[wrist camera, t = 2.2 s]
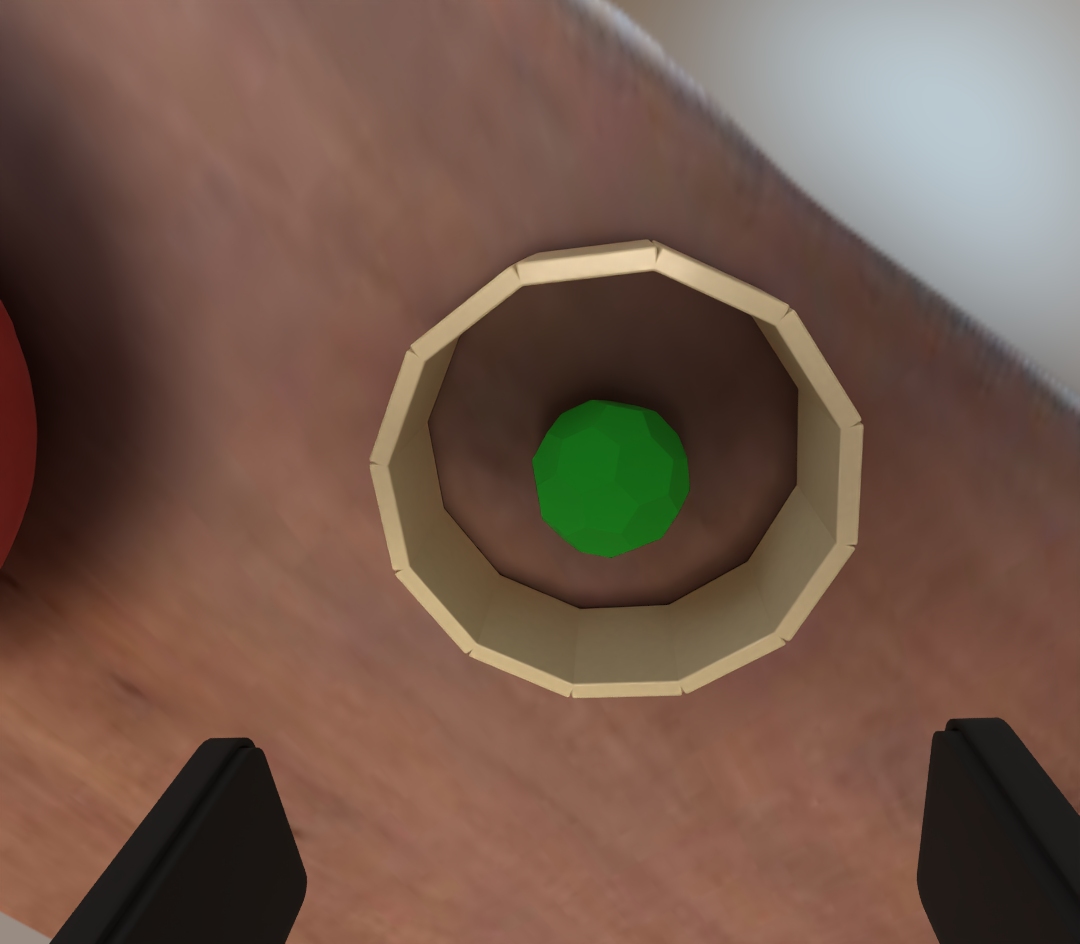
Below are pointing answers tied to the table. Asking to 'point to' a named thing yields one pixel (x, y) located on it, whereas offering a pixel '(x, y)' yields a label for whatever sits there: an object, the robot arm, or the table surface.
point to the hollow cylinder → (643, 631)
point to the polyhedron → (610, 477)
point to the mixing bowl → (14, 434)
